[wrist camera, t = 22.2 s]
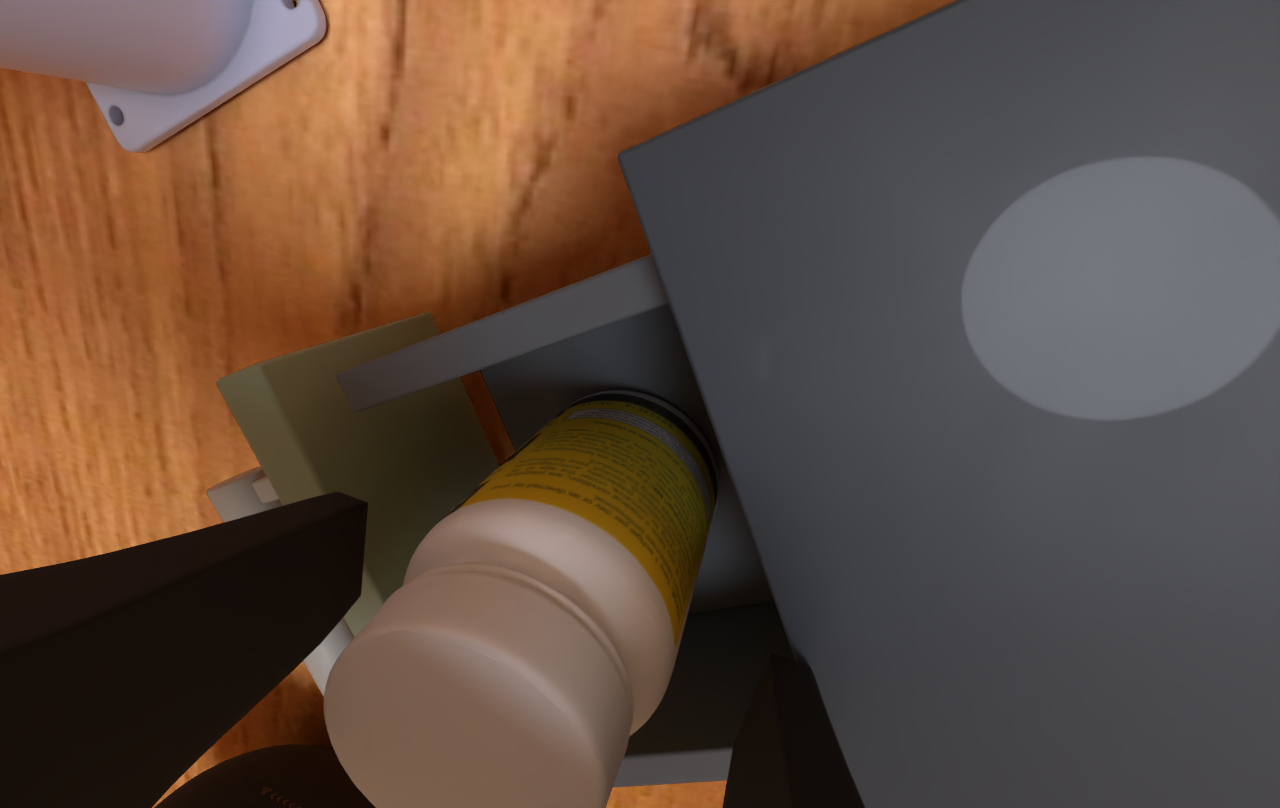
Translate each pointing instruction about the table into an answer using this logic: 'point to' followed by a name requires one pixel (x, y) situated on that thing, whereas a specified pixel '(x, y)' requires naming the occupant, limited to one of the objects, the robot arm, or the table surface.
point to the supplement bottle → (534, 619)
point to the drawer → (462, 459)
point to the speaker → (272, 782)
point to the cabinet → (1006, 391)
